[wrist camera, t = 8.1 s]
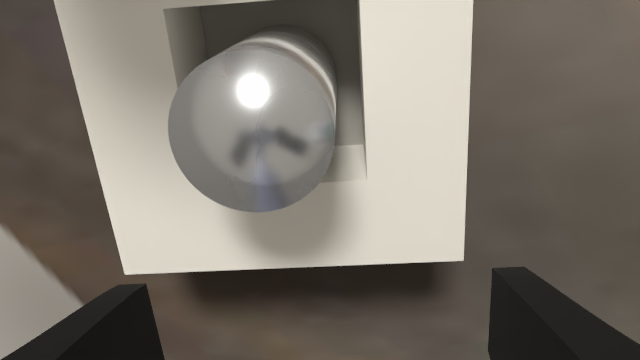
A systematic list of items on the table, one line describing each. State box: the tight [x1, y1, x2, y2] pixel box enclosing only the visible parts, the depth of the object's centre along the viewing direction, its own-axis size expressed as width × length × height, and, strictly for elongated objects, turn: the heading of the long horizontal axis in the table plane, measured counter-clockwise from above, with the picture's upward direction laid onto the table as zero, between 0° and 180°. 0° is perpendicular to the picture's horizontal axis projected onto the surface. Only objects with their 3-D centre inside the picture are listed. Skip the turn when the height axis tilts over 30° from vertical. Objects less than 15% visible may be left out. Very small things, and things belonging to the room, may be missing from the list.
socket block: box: [54, 0, 473, 275], centre depth 16 cm, size 11×11×4 cm
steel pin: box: [168, 24, 337, 212], centre depth 14 cm, size 4×4×7 cm
